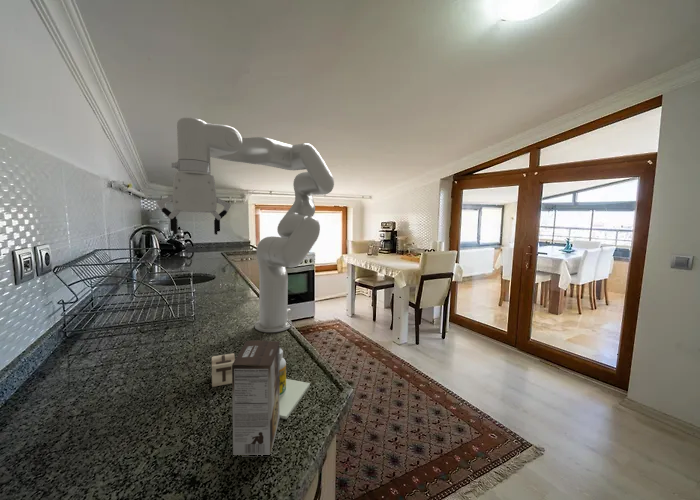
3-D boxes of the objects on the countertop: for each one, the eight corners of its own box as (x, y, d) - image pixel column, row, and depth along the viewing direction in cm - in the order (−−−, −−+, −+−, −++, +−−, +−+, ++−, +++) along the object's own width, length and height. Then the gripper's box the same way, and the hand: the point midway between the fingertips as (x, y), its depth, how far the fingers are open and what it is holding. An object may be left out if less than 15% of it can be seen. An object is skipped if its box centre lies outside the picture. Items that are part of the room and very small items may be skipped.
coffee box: (246, 419, 57) (246, 339, 55) (280, 418, 57) (281, 339, 55) (231, 458, 48) (230, 364, 46) (271, 457, 48) (271, 364, 46)
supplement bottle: (280, 383, 68) (281, 343, 67) (289, 395, 64) (290, 353, 63) (257, 390, 65) (257, 349, 64) (265, 403, 61) (265, 359, 60)
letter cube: (212, 376, 71) (211, 355, 71) (234, 372, 74) (234, 352, 73) (212, 387, 67) (211, 366, 66) (235, 383, 69) (235, 362, 68)
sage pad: (263, 376, 72) (263, 374, 72) (310, 385, 69) (310, 383, 69) (232, 407, 60) (232, 404, 60) (286, 419, 57) (286, 416, 57)
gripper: (153, 163, 70) (156, 235, 72) (231, 170, 78) (231, 235, 80) (158, 167, 77) (160, 233, 79) (229, 173, 84) (229, 233, 86)
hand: (196, 234), depth 79 cm, fingers open, 9 cm apart
